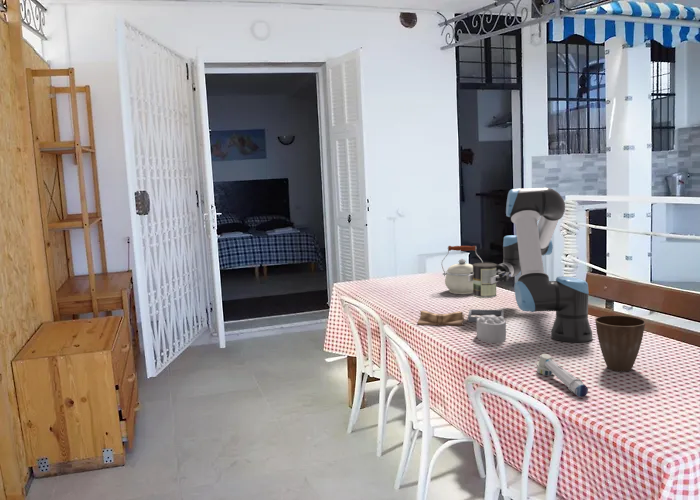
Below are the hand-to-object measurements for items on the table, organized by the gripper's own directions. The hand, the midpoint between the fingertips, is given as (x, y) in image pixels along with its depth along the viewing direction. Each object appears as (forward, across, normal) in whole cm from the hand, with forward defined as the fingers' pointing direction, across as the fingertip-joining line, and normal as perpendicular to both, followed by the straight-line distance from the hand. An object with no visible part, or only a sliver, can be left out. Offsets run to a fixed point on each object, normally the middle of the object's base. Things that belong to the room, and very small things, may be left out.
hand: (480, 279), depth 272 cm
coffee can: (-4, 0, -8) cm, 9 cm away
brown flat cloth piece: (+10, +14, -18) cm, 25 cm away
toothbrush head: (+58, -57, -18) cm, 83 cm away
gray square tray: (-4, 0, -18) cm, 19 cm away
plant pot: (+35, -68, -18) cm, 78 cm away
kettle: (-51, +35, -18) cm, 64 cm away
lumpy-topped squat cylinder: (+24, -17, -18) cm, 35 cm away
